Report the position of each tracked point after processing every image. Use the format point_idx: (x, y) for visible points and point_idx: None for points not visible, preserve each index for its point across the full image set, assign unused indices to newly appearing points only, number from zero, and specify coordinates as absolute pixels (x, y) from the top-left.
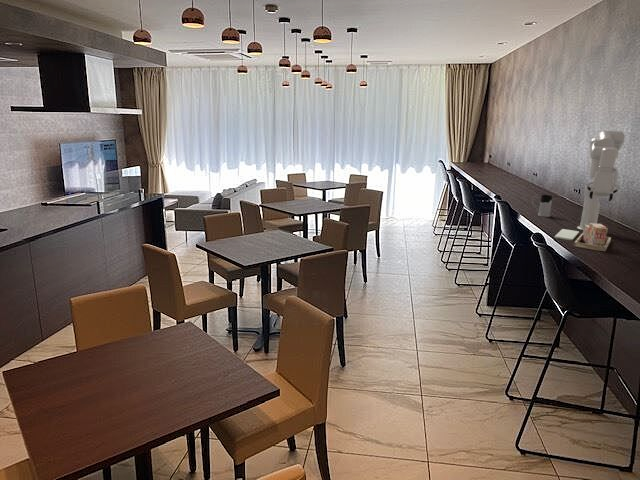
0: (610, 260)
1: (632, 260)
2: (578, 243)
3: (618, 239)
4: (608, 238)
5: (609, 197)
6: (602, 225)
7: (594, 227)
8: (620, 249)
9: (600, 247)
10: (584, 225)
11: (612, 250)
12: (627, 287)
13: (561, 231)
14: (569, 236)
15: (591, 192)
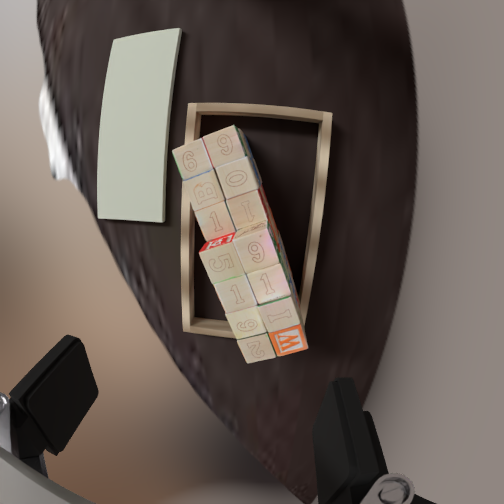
0: (305, 414)
1: (367, 384)
2: (199, 332)
3: (356, 53)
4: (319, 120)
5: (316, 468)
6: (281, 282)
7: (238, 339)
8: (361, 261)
9: None
10: (176, 162)
11: (328, 299)
12: (309, 495)
13: (109, 93)
14: (144, 174)
15: (51, 448)
